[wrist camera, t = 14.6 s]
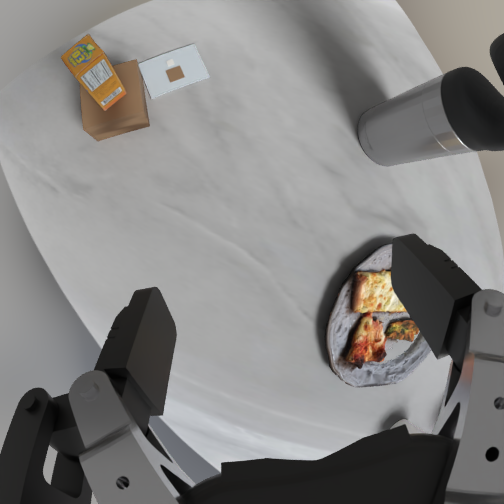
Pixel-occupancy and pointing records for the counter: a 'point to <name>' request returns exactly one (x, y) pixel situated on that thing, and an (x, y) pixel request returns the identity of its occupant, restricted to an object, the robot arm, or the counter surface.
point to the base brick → (117, 106)
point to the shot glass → (408, 426)
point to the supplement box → (94, 72)
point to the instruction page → (173, 70)
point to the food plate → (371, 327)
